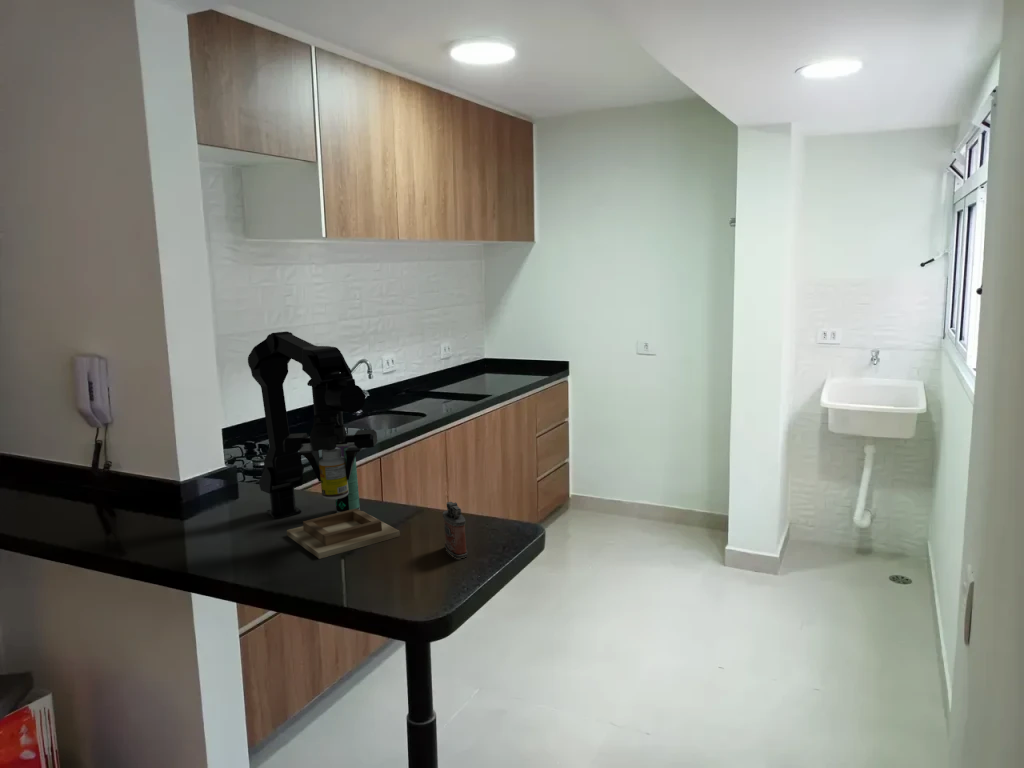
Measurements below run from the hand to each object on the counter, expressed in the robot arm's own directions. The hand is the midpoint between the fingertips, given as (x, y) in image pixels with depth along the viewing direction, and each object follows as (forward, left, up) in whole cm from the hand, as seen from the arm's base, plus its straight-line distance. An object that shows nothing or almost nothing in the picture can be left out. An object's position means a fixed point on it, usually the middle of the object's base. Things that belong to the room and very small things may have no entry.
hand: (334, 480), depth 158 cm
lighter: (+25, +14, -13) cm, 31 cm away
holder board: (0, +1, -12) cm, 13 cm away
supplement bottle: (0, 0, -4) cm, 4 cm away
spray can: (-15, +9, -13) cm, 21 cm away
